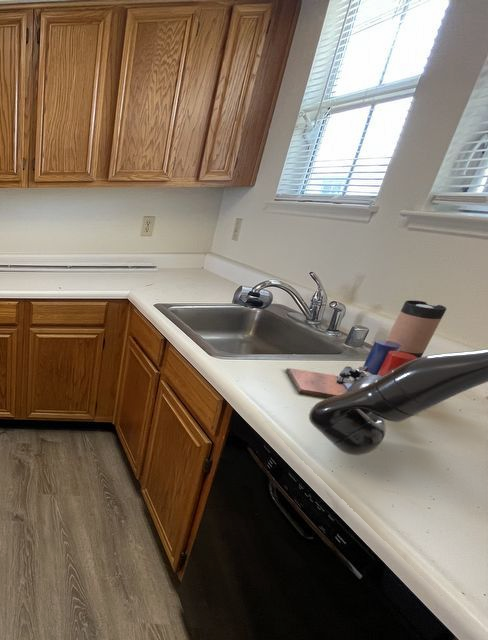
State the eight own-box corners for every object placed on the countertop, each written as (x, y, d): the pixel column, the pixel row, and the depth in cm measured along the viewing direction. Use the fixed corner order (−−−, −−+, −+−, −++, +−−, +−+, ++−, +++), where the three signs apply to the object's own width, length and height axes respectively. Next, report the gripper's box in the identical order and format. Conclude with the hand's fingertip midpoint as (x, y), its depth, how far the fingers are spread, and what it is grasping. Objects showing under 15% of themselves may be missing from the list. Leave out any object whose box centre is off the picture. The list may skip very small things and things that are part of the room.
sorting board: (385, 386, 106) (387, 382, 105) (412, 413, 94) (414, 409, 93) (285, 370, 113) (287, 367, 112) (298, 393, 101) (300, 389, 101)
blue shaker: (376, 381, 105) (396, 341, 101) (384, 390, 101) (405, 348, 97) (353, 378, 107) (372, 338, 102) (360, 386, 103) (380, 345, 98)
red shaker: (389, 395, 99) (411, 352, 94) (398, 404, 95) (421, 360, 90) (364, 391, 101) (385, 349, 96) (372, 400, 97) (394, 357, 92)
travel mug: (378, 381, 108) (415, 307, 99) (364, 369, 115) (398, 298, 106) (414, 386, 106) (455, 311, 97) (398, 373, 113) (435, 302, 104)
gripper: (427, 396, 76) (442, 373, 85) (334, 368, 86) (356, 351, 95) (407, 430, 80) (424, 404, 89) (320, 400, 90) (343, 380, 99)
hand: (389, 377), depth 92 cm, fingers open, 8 cm apart
